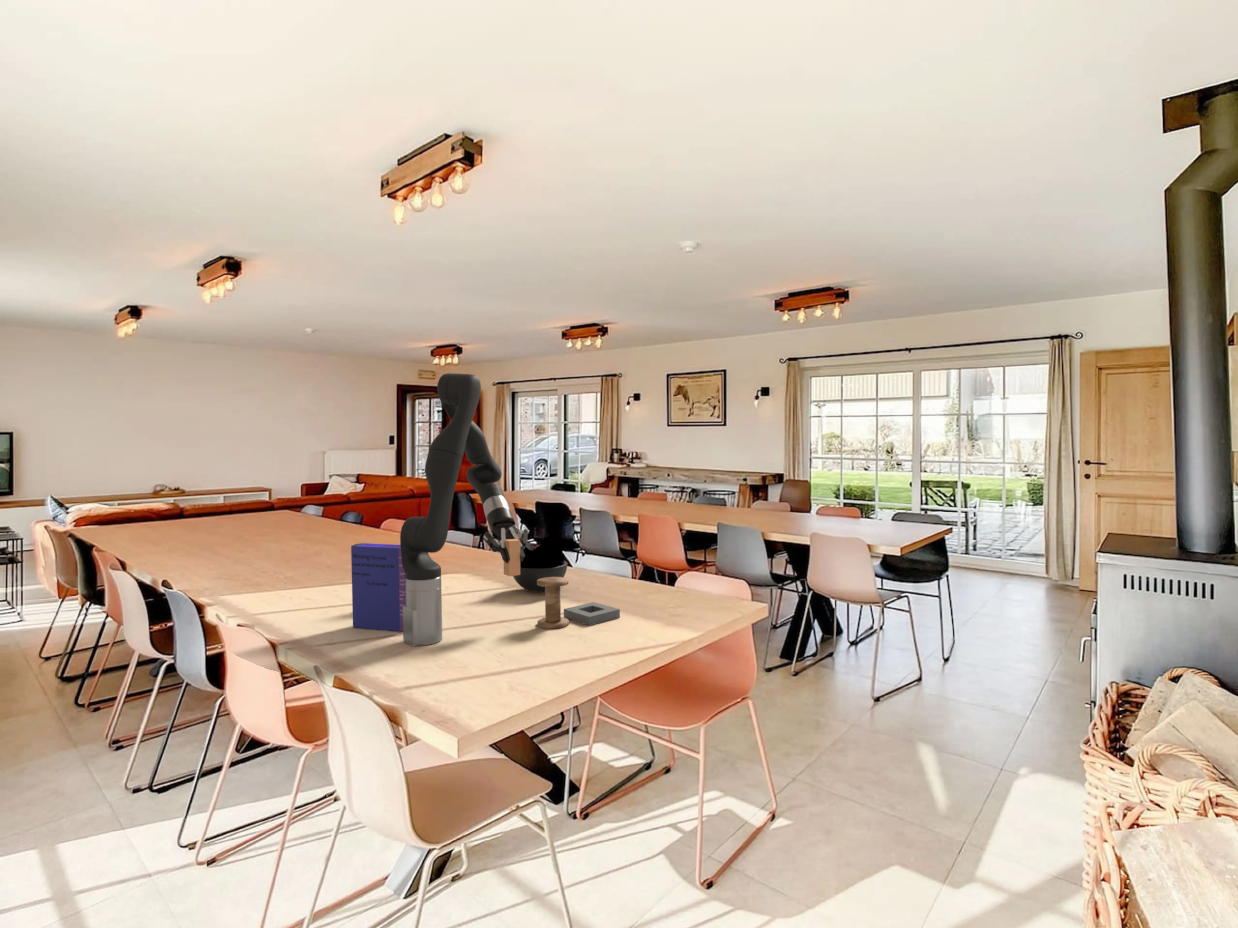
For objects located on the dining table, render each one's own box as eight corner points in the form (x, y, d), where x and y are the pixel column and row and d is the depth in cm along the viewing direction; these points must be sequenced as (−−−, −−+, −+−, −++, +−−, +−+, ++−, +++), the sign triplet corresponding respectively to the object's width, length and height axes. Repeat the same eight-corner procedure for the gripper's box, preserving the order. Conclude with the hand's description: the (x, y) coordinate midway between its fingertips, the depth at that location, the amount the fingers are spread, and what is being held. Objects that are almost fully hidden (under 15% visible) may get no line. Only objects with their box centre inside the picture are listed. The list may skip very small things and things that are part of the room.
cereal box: (415, 627, 186) (414, 544, 185) (406, 632, 181) (404, 547, 180) (363, 623, 190) (362, 542, 189) (352, 628, 186) (351, 545, 185)
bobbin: (549, 630, 182) (549, 585, 181) (531, 624, 188) (530, 580, 188) (574, 624, 188) (574, 580, 187) (556, 618, 194) (555, 575, 194)
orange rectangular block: (509, 576, 184) (509, 541, 184) (503, 574, 187) (503, 539, 187) (520, 574, 186) (520, 540, 186) (514, 572, 189) (514, 538, 189)
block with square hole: (589, 625, 187) (589, 616, 187) (563, 617, 196) (563, 608, 196) (619, 617, 195) (619, 609, 195) (593, 609, 204) (593, 601, 204)
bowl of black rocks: (578, 589, 232) (578, 537, 231) (543, 601, 215) (543, 545, 214) (535, 582, 243) (534, 533, 242) (498, 593, 226) (497, 540, 225)
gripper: (479, 507, 188) (495, 554, 178) (523, 505, 196) (541, 550, 186) (472, 523, 193) (488, 570, 183) (516, 520, 201) (533, 566, 191)
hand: (515, 560), depth 185 cm, fingers closed on orange rectangular block, 3 cm apart
